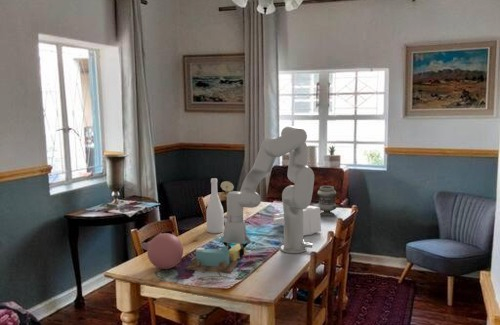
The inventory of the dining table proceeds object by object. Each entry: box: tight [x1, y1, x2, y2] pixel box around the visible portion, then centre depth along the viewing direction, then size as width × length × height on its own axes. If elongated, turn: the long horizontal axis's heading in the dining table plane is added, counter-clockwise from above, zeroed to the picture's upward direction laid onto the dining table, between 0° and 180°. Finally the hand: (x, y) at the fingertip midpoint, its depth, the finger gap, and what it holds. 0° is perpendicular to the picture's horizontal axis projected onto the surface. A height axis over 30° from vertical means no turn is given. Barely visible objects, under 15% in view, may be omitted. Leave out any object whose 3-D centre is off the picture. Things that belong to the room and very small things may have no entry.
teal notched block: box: [195, 245, 230, 267], centre depth 198 cm, size 14×4×8 cm, turn 77°
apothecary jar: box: [316, 185, 338, 218], centre depth 284 cm, size 12×12×18 cm
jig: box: [186, 256, 239, 274], centre depth 198 cm, size 20×12×4 cm, turn 77°
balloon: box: [140, 232, 184, 270], centre depth 197 cm, size 15×20×15 cm
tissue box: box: [272, 205, 322, 237], centre depth 252 cm, size 15×25×28 cm
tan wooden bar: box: [229, 243, 247, 261], centre depth 210 cm, size 4×14×4 cm, turn 157°
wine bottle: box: [205, 177, 225, 234], centre depth 250 cm, size 10×10×30 cm
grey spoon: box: [219, 180, 235, 223], centre depth 269 cm, size 13×11×25 cm
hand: (235, 255), depth 210 cm, fingers closed on tan wooden bar, 5 cm apart
